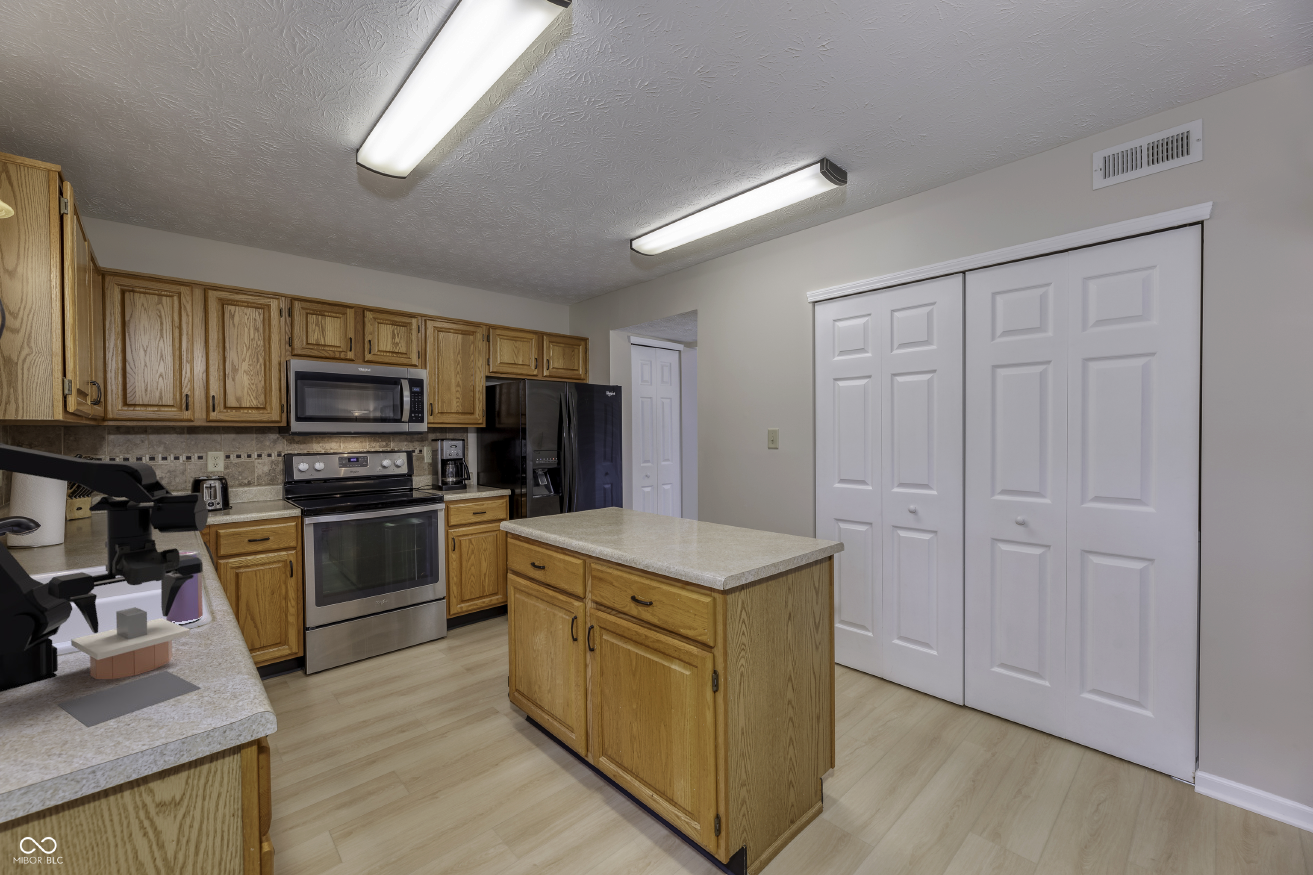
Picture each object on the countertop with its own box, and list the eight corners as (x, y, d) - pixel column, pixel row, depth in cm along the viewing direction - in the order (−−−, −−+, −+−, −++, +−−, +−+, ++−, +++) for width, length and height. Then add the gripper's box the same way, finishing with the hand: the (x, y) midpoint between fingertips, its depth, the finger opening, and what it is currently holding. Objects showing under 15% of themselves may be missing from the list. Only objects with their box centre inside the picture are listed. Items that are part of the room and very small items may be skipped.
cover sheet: (97, 660, 88) (96, 628, 88) (71, 645, 94) (70, 616, 93) (190, 635, 98) (189, 607, 98) (161, 623, 104) (160, 597, 104)
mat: (88, 730, 76) (88, 727, 76) (56, 707, 83) (56, 703, 83) (201, 691, 88) (201, 688, 88) (166, 673, 94) (166, 670, 94)
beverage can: (186, 626, 116) (185, 555, 116) (158, 625, 116) (157, 555, 116) (209, 616, 122) (208, 549, 122) (183, 616, 122) (182, 549, 122)
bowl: (104, 686, 89) (104, 656, 89) (82, 673, 94) (81, 644, 94) (181, 663, 98) (180, 635, 98) (157, 652, 103) (156, 625, 103)
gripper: (70, 550, 83) (72, 652, 84) (216, 530, 100) (217, 615, 100) (45, 543, 89) (48, 638, 89) (188, 524, 105) (189, 606, 105)
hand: (131, 624), depth 96 cm, fingers open, 9 cm apart
